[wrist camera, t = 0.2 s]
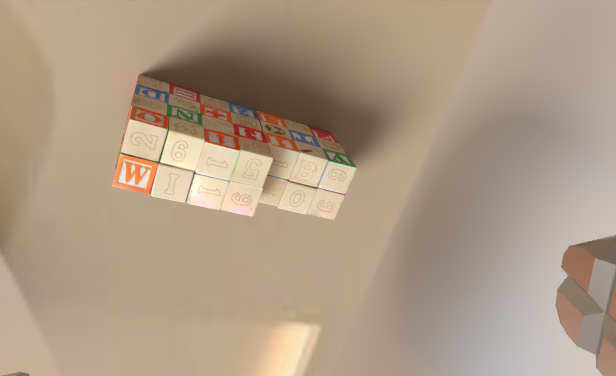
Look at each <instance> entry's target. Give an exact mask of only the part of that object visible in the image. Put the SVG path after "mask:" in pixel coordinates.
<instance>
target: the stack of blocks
mask: <svg viewBox="0 0 616 376" xmlns="http://www.w3.org/2000/svg"><path fill="white" fill-rule="evenodd" d="M115 169H116V171H115V175H114V180H113V185H112V186H114V187H118V188H123V189H127V190H132V191H136V192H141V193H145V194H151V196H153V197H159V198H163V199H168V200H173V201H178V202H187V203H188V204H191V205H195V206H201V207H206V208H211V209H216V210H220V209H221V210H223V211H227V212H232V213H237V214H242V215H248V216H254V213H255V210H256V207H257V204H258V203H262V204H266V205H271V206H275V207H278V208H280V209H284V210H289V211H293V212H297V213H302V214H310V215H314V216H318V217H322V218H327V219H331V220H334V219H335V216H336V214H337V212H338V210H339V207H340V205H341V203H342V201H343V199H344V197H345V193H346V191H347V189H348V187H349V184H350V182H351V180H352V178H353V176H354V173H355V171H356V169H357V168H356V166H355V164H354V163H353V161H352V160H351V158H350V157H349V156H348V155H347V154H346V153H345V151H344V150H343V148H342V146H341V145H340V144H339V143H338V141H337V139H336V138H335V136H334V135H333V134H332V133H328V132H324V131H321V130H317V129H314V128H311V127H308V126H307V125H303V124H300V123H297V122H293V121H290V120H287V119H282V118H280V117H277V116H274V115H271V114H268V113H264V112H261V111H255V110H252V109H249V108H245V107H242V106H239V105H236V104H232V103H227V102H225V101H222V100H218V99H215V98H212V97H208V96H205V95H201V94H200V93H197V92H194V91H191V90H188V89H185V88H181V87H178V86H175V85H171V84H168V83H166V82H163V81H159V80H156V79H153V78H150V77H146V76H143V75H139V77H138V81H137V85H136V89H135V92H134V95H133V99H132V103H131V107H130V111H129V115H128V119H127V123H126V127H125V130H124V134H123V138H122V143H121V147H120V151H119V156H118V160H117V164H116V168H115Z"/></svg>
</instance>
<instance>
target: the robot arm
mask: <svg viewBox="0 0 616 376" xmlns="http://www.w3.org/2000/svg"><path fill="white" fill-rule="evenodd" d="M561 267H562V269H563V270H564V271H565V272H566V274H567V275H568V277H567V278H566V279H565V280H564V282H563V283H562V284H561V285H560V287H559V288H558V289H557V298H556V308H557V312H558V316H559V320H560V323H561V325H562V326H563V328H564V330H565V332H566V333H567V335H568V336H569V337H570V338H571V339H572V341H573V342H574V343H575V344H576V345H577V346H578V347H580V348H583V349H585V350H587V351H589V352H591V353H593V354H596V368H597V369H598V370H599V371H600V372H601V374H602V375H603V376H616V235H614V236H609V237H605V238H601V239H597V240H592V241H588V242H584V243H580V244H576V245H571V246H569V247H568V249H567V250H566V251H565V253H564V255H563V260H562V265H561ZM3 376H29V374H27V373H21V372H18V373H13V374H8V375H3Z"/></svg>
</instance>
